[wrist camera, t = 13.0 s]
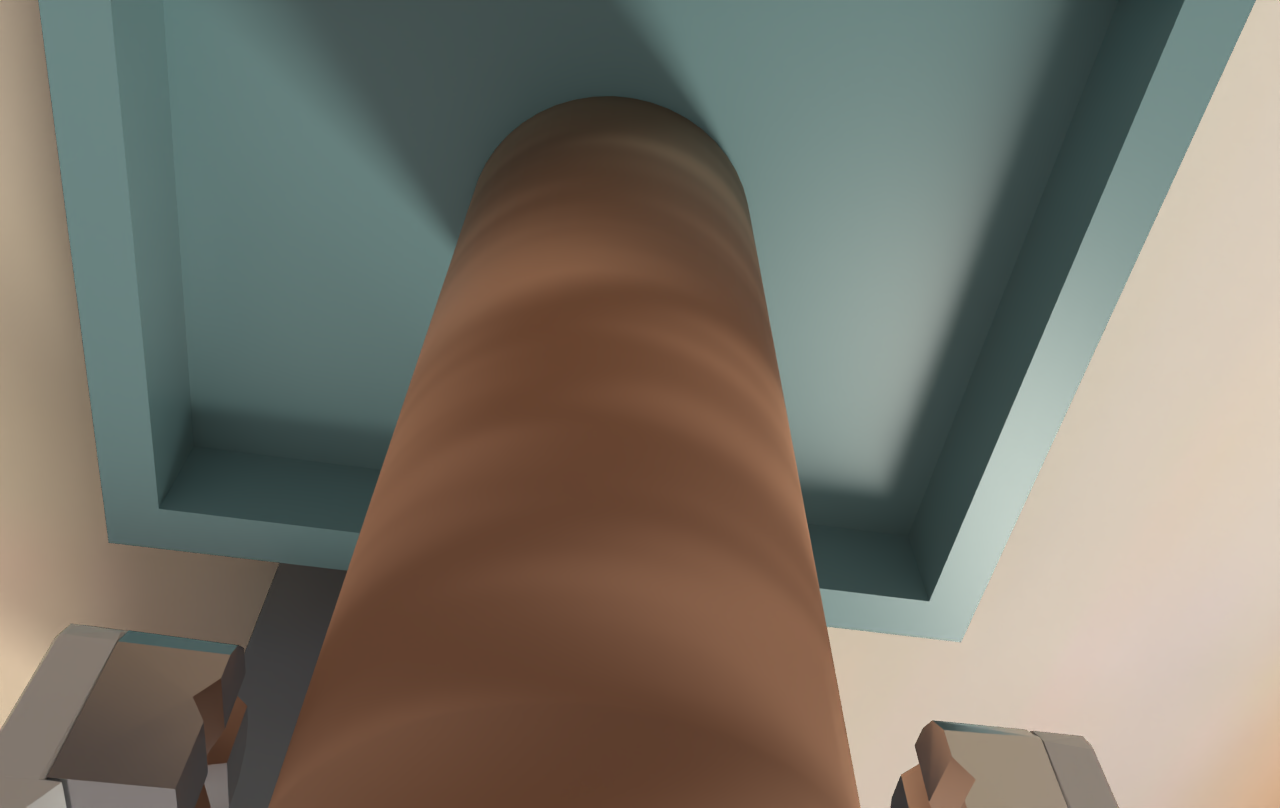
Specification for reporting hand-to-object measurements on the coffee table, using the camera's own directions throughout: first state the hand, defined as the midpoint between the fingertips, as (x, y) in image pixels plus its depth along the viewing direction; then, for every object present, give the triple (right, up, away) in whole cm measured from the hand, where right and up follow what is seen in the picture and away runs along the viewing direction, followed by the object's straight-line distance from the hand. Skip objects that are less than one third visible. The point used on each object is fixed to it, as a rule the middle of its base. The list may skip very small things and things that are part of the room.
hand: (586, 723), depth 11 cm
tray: (0, +7, +10) cm, 12 cm away
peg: (0, +6, +9) cm, 11 cm away
